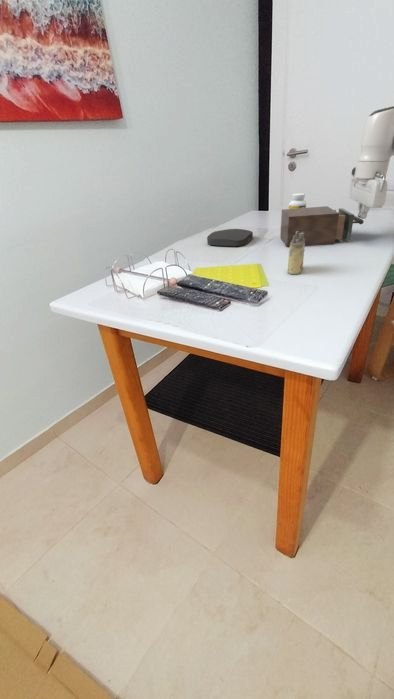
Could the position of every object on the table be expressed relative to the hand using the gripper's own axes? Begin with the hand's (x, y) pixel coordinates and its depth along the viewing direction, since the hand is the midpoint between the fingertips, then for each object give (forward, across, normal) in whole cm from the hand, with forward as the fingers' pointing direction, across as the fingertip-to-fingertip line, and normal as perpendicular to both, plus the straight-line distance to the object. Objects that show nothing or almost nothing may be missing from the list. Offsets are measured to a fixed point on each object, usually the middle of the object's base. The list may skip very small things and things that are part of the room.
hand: (361, 218), depth 112 cm
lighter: (+7, -29, +27) cm, 40 cm away
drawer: (+6, 0, +10) cm, 11 cm away
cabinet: (+7, 0, +17) cm, 19 cm away
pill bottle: (+7, +23, +16) cm, 29 cm away
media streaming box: (+8, +6, +43) cm, 44 cm away
